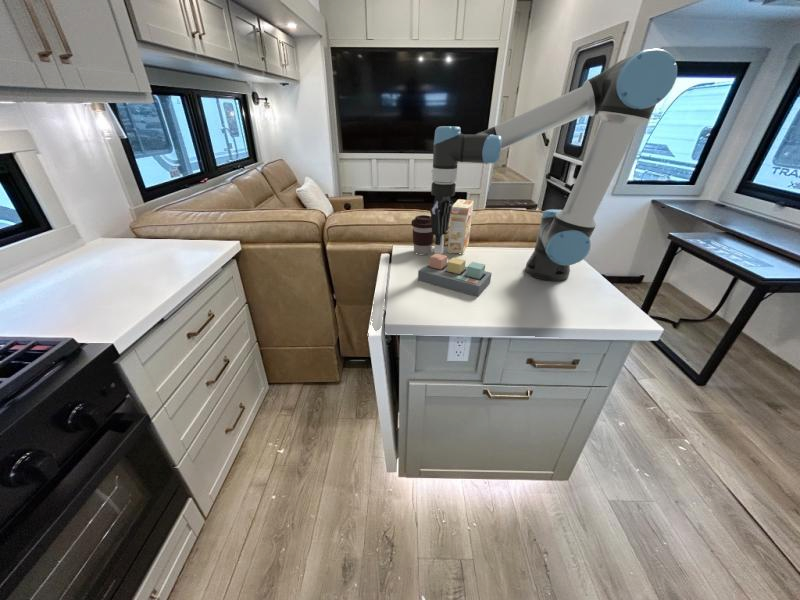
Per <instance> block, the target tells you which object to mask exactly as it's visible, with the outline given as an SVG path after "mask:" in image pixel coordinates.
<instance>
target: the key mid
mask: <svg viewBox="0 0 800 600" xmlns="http://www.w3.org/2000/svg"><path fill="white" fill-rule="evenodd" d="M447 262H448V268H447V271H448V272H453V273H457V274H460V273H461V272H463V271H464V270H465V267H466V262H467V261H466V260H465V259H461V258H458V257H452V258H451V259H449V261H448V260H447Z"/></svg>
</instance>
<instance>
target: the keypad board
mask: <svg viewBox="0 0 800 600" xmlns="http://www.w3.org/2000/svg"><path fill="white" fill-rule="evenodd" d="M447 268H448V261H447V265H446V266H445V267H444V268H442V269H441V270H440V269H436V268H432V267H429V262H428V263H427V264H425V265H424V266H423V267H421V268H420V269H418V271H417V273H418V274H417V275H418V276H417V281H418V282H420V283H424V284H429V285H431V286H436V287H439V288H441V289H442V288H443V289H446V290H450V291H454V292H457V293H460V294H464V295H468V296H471V297H475V298H479V297H480V295H481V294H483V292H484V291H485V290H486V289H487V287H488V286H489V285H490V284H491V281H492V274H493V273H492V272H491V271H486V270H485V271H484V275H483V276H482V277H481V278H480V279H477V278H473V277H469V276H466V273H467V266H465V270H464V271H463V272H461V273H460V274H457V273H453V272H448V271H447Z"/></svg>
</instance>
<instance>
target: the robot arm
mask: <svg viewBox="0 0 800 600" xmlns="http://www.w3.org/2000/svg"><path fill="white" fill-rule="evenodd" d="M677 77H678V64H677V62H676V58H675V57H674V56H673V55H672V53H670V52H669V51H667V50H665V49H661V48H652V49H644V50H641V51H638V52H636V53H634V54H633V55H632V56H628V57H626V58H624V59H622V60H620V61H619V62H617V63H615V64H614V65H612V66H610V67H609V68H607V69H606V70H605V69H604V70H603V71H602V72H601V73H599V74H596V75H595V76H593V77H591V78H589V79H587V80H585V81H584V82H583V84H582V86H580V87H578V88H576V89H574V90H571V91H569V92H568V93H565V94H563V95H561V96H558V97H556V98H554V99H552V100H549V101H548V102H545V103H543V104H541V105H538V106H536V107H534V108H532V109H529V110H527V111H525V112H523V113H521V114H519V115H516V116H514V117H512V118H510V119H508V120H505V121H503V122H501V123H498V124H497V125H494V126H493V127H490V128H487V129H485V130H484V131H480V132H477V133H476V134H464V133H462V132H461V129H462V128H461V127H460V126H456V125H455V126H451V125H450V126H449V125H448V126H446V125H444V126H443V125H442V126H438V127H436V129H435V131H434V139H433V151H432V154H433V155H432V157H433V158H432V169H431V173H432V177H431V180H432V182H431V189H430V194H431V195H432V196H434V197H435V198H434V200H433V201H434V202H433V207H430V208H429V213H430V216H431V224H432V235H434V250H433V252H434V254H440V255H443V253H444V245H445V243H444V242H445V235H448V234H449V232H448V230H449V227H450V217H451V209H452V206H453V205H454V201H452V200H451V198H452V197H454V196H455V195H456V186H457V185H456V182H457V178H458V177H457V175H458V163H470V164H471V163H472V164H473V163H475V164H485V165H489V164H497V163H498V162H499V160H500V156H501V155H500V154H501V151H502V150H505V149H508V148H511V147H512V146H514V145H517V144H520V143H521V142H524V141H527V140H529V139H532V138H534V137H537V136H539V135H541V134H544V133H546V132H549V131H550V130H553V129H555V128H559V127H561V126H564V125H565V124H567V123H571V122H572V121H575V120H578V119H579V118H580V119H581V118H582V117H585V116H589V117H594V116H596V115H599V117H600V124H599V126H598V128H597V130H596V133H595V134H594V137H593V139H592V143H591V144H590V146H589V149H588V152H587V153H586V155H585V157H584V158H585V159H584V161H583V163H582V164H581V165H582V166H581V167H580V170H579V172H578V174H577V177H576V180H575V182H574V184H573V187H572V188H571V191H570V194H569V195H568V198H567V200H566V202H565V206H564V207H563V209H545V210H544V211H543V213H542V215H541V218H540V224H539V228H538V233H537V237H536V242H535V247H534V250H533V252H532V254H531V256H530V257H529V259H528V260H527V262H526V263H525V264H526V265H525V268H524V271H525V273H526V274H528V275H529V276H531V277H533V278H536V279H539V280H541V281H548V282H549V281H550V282H562V281H565V280H567V279H568V278H569V276H570V273H571V266H573V265H576V264H577V263H580V262H581V261H583V260H584V259H586V257H587V256H588V254H589V253H590V251H591V240H590V239H591V237H592V235H593V233H594V231H595V229H596V226H597V224H596V221H595V219H594V218H595V216H596V214H597V212H598V209H599V208H600V205H601V203H602V201H603V199H604V197H605V195H606V192H607V191H608V189H609V187H610V184H611V183H612V181H613V179H614V176H615V175H616V173H617V171H618V168H619V166H620V164H621V162H622V160H623V158H624V156H625V154H626V152H627V150H628V148H629V146H630V144H631V142H632V141H633V140H632V139H633V137H634V135H635V133H636V132H637V129H638V128H639V127H640V126H641V125H643V124H645V123H646V122H648V121H649V120H650V118H651V116H652V113H653V112H654V109H655V107H656V105H657V104H659V103H661V101H662V100H664V99H665V97H667V95H668V94H669V93H670V92H671V90H672V89H673V88H674V85H675V83H676V80H677Z"/></svg>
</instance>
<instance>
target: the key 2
mask: <svg viewBox="0 0 800 600" xmlns="http://www.w3.org/2000/svg"><path fill="white" fill-rule="evenodd" d="M466 267H467V273H466V276H469V277H473V278H477V279H480V278H481V277H482V276H483V275H484V271H486V264H484V263H479V262H476V261H472V262H470V264H468V265H467V266H466Z"/></svg>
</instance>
